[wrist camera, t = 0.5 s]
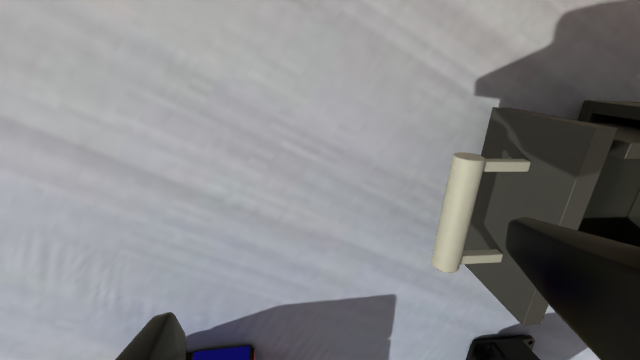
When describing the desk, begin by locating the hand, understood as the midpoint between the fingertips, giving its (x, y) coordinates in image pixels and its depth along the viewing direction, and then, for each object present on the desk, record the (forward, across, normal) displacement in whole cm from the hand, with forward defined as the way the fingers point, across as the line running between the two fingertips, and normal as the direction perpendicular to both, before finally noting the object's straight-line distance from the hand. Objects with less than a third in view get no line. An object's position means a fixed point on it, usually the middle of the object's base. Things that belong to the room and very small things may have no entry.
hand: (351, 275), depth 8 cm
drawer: (+11, -16, +7) cm, 21 cm away
